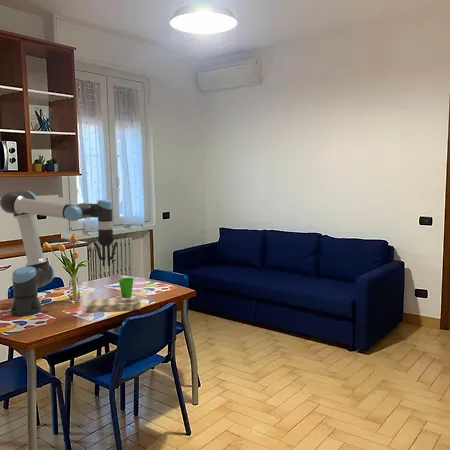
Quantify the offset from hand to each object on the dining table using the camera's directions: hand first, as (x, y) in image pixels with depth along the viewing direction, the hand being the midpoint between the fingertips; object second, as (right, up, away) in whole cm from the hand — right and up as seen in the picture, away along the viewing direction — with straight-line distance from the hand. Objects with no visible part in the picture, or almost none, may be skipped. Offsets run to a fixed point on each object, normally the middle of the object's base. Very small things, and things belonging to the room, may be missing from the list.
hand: (106, 272), depth 252 cm
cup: (+6, -18, +24) cm, 30 cm away
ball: (+10, -18, +4) cm, 21 cm away
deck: (+3, -20, +4) cm, 21 cm away
